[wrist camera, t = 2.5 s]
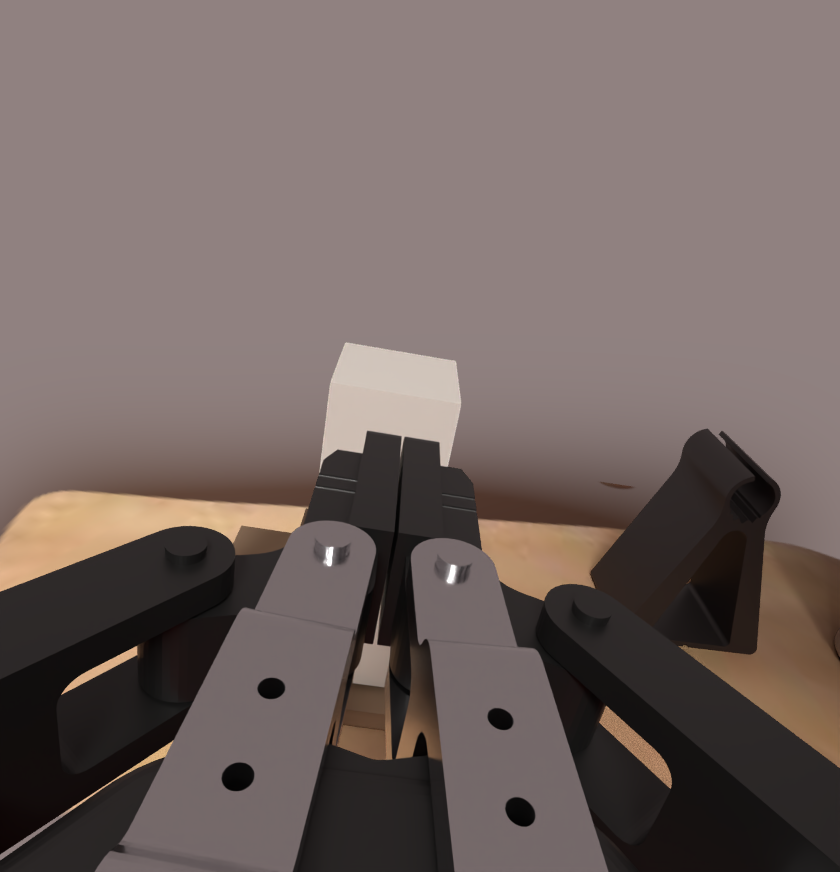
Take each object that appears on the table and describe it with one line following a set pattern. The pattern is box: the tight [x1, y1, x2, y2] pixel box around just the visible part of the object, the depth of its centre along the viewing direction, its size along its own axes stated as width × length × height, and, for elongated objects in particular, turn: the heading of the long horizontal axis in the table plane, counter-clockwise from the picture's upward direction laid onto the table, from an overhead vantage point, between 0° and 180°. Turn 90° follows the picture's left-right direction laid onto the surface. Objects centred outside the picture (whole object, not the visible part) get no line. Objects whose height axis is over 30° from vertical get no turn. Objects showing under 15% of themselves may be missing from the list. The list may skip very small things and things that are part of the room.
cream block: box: [319, 343, 461, 687], centre depth 30 cm, size 5×5×15 cm
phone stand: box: [591, 429, 781, 654], centre depth 40 cm, size 9×6×12 cm, turn 91°
